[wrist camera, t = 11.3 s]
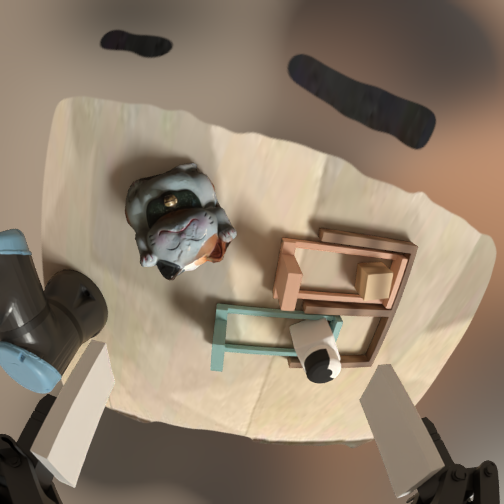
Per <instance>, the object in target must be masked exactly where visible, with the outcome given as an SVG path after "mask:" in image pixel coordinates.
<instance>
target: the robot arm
mask: <svg viewBox="0 0 504 504" xmlns="http://www.w3.org/2000/svg"><path fill="white" fill-rule="evenodd" d="M31 255H32V254H31V252H30V251H29V248H28V245H27V242H26V240H25V236H24V234H23V233H22V232H21V231H20V230H18V229H10V230H6V231H3V232H0V365H1V367H2V368H3V369H4V370H5V371H6V373H7V374H8V375H9V376H10V377H11V378H13V379H14V380H15V381H16V382H18V383H19V384H20V385H22V386H23V387H25V388H27V389H29V390H31V391H34V392H37V393H48V392H50V391H51V390H52V389H53V388H54V386H55V385H56V383H57V382H58V381H60V380H61V377H62V375H63V374H64V372H65V370H66V369H67V367H68V365H69V364H70V362H71V360H72V359H73V357H74V355H75V354H76V352H77V351H78V349H79V347H80V346H81V344H83V343H85V342H86V341H88V340H89V339H90V338H92V337H95V336H96V335H97V334H99V333H100V331H101V330H102V329H103V327H104V326H105V324H106V321H107V317H108V310H107V305H106V302H105V299H104V297H103V295H102V293H101V292H100V290H99V289H98V288H97V286H96V285H95V284H94V283H93V282H92V281H91V280H90V279H89V278H87V277H86V276H84V275H83V274H81V273H79V272H76V271H73V270H63V271H60V272H58V273H57V274H55V275H54V276H53V277H52V278H51V279H50V280H49V281H48V283H47V285H46V287H45V290H44V291H43V288H42V285H41V283H40V280H39V278H38V275H37V272H36V269H35V266H34V263H33V259H32V256H31ZM114 384H115V380H114V376H113V372H112V368H111V364H110V360H109V355H108V351H107V346H106V343H104V342H99V341H95V340H91V342H90V343H89V345H88V347H87V348H86V350H85V351H84V353H83V354H82V356H81V358H80V359H79V361H78V363H77V364H76V366H75V368H74V369H73V371H72V372H71V374H70V376H69V378H68V379H67V381H66V383H65V384H64V386H63V388H62V390H61V391H60V394H59V395H58V397H55V396H52V395H50V394H47V395H46V396H45V397H43V398H42V399H41V400H40V401H39V403H38V404H37V406H36V408H35V411H33V413H32V415H31V418H29V420H28V422H27V424H26V426H25V428H24V429H23V431H22V433H21V435H20V437H19V439H18V441H17V442H15V441H14V440H13V439H12V438H11V437H10V436H8V435H6V434H0V504H63V503H62V501H61V499H60V497H59V495H58V493H57V490H56V488H55V485H54V483H53V482H52V479H53V476H55V477H56V478H57V479H58V480H59V481H60V482H63V483H65V484H67V485H70V486H72V487H74V488H75V486H76V483H77V479H78V477H79V474H80V471H81V468H82V465H83V462H84V459H85V457H86V454H87V451H88V448H89V446H90V443H91V440H92V437H93V435H94V432H95V430H96V427H97V425H98V422H99V419H100V417H101V415H102V412H103V410H104V407H105V405H106V403H107V400H108V398H109V395H110V393H111V391H112V388H113V386H114ZM360 403H361V405H362V408H363V410H364V413H365V415H366V418H367V420H368V423H369V425H370V428H371V431H372V433H373V436H374V438H375V441H376V443H377V446H378V449H379V452H380V454H381V457H382V460H383V462H384V465H385V468H386V471H387V474H388V476H389V479H390V482H391V485H392V488H393V491H394V494H395V496H396V498H399V497H402V496H405V495H408V494H410V493H412V492H413V491H414V490H415V489H417V490H418V493H416V494H415V495H413V496H412V497H411V498H409V499H408V500H407V503H409V502H410V501H412V500H413V499H414V500H413V502H412V503H411V504H500V500H499V480H498V470H497V467H496V465H495V463H493V462H492V461H484V462H483V463H482V464H481V465H480V466H479V467H474V468H465V467H464V466H462V465H460V464H455V463H454V462H453V461H452V459H451V457H450V455H449V453H448V451H447V449H446V447H445V445H444V443H443V441H442V440H441V437H440V435H439V434H438V433H437V430H436V428H435V426H434V424H433V423H432V422H431V421H430V420H429V419H428V418H427V417H425V418H421V417H420V416H419V414H418V412H417V410H416V408H415V406H414V404H413V403H412V401H411V399H410V397H409V395H408V394H407V392H406V390H405V388H404V386H403V385H402V383H401V381H400V379H399V378H398V376H397V374H396V373H395V371H394V369H393V367H392V366H391V364H385V365H378V367H377V369H376V371H375V373H374V375H373V377H372V378H371V380H370V382H369V384H368V386H367V388H366V389H365V391H364V393H363V395H362V396H361V398H360ZM473 495H474V498H473V501H471V500H470V497H472V496H473Z"/></svg>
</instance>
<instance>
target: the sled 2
mask: <svg viewBox="0 0 504 504" xmlns="http://www.w3.org/2000/svg"><path fill="white" fill-rule="evenodd" d="M295 248H304V249H312V250H320V251H329V252H337V253H345V254H353V255H361V256H369V257H377V258H385V259H393V262H392V265H391V268H390V270H391V271H392V272H393V277H392V283H391V288H390V293H389V298H385V299H377V300H368V301H364V300H363V299H362V297H361V296H360V295H356V294H342V293H328V292H316V291H304V290H299V289H300V284H301V280H302V276H303V274H302V272H301V270H300V267H299V265H298V263H297V261H296V259H295V256H294V253H295ZM407 260H408V259H407V258H406V257H404V256H403V255H402V254H400V253H395V252H388V251H380V250H373V249H366V248H359V247H351V246H344V245H336V244H328V243H321V242H313V241H305V240H297V239H289V238H282V243H281V248H280V254H279V260H278V265H277V271H276V276H275V281H274V287H273V292H272V293H273V298H274V299H278V300H279V304H280V309H281V310H284V311H294V310H295V306H296V302H297V298H301V299H314V300H328V301H344V302H361V303H381V304H383V305H384V307H385V308H391V307H392V304H393V301H394V299H395V296H396V293H397V290H398V288H399V285H400V282H401V279H402V276H403V273H404V270H405V267H406V264H407Z"/></svg>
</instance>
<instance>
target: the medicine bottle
mask: <svg viewBox="0 0 504 504" xmlns="http://www.w3.org/2000/svg"><path fill="white" fill-rule="evenodd" d="M289 328H290V332H291V336H292V340H293V345H294V349H295V351H296V354H297V356H298V358H299V360H300V363H301V365H302V367H303V369H304V372H305V373H306V375H307V378H308V379H309V380H310V381H312V382H314V383H326V382H329V381H331V380H333V379H334V378H335V377H336V376H337V375H338V374H339V373H340V371H341V363H340V355H339V352H338V348H337V345H336V342H335V338H334V335H333V333H332V331H331V328H330V326H329V324H328V322H327V319H326V318H322V319H319V320H310V319H307V320H304V321H302V322H299V323H296V324H294V325H291V326H290V327H289Z"/></svg>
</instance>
